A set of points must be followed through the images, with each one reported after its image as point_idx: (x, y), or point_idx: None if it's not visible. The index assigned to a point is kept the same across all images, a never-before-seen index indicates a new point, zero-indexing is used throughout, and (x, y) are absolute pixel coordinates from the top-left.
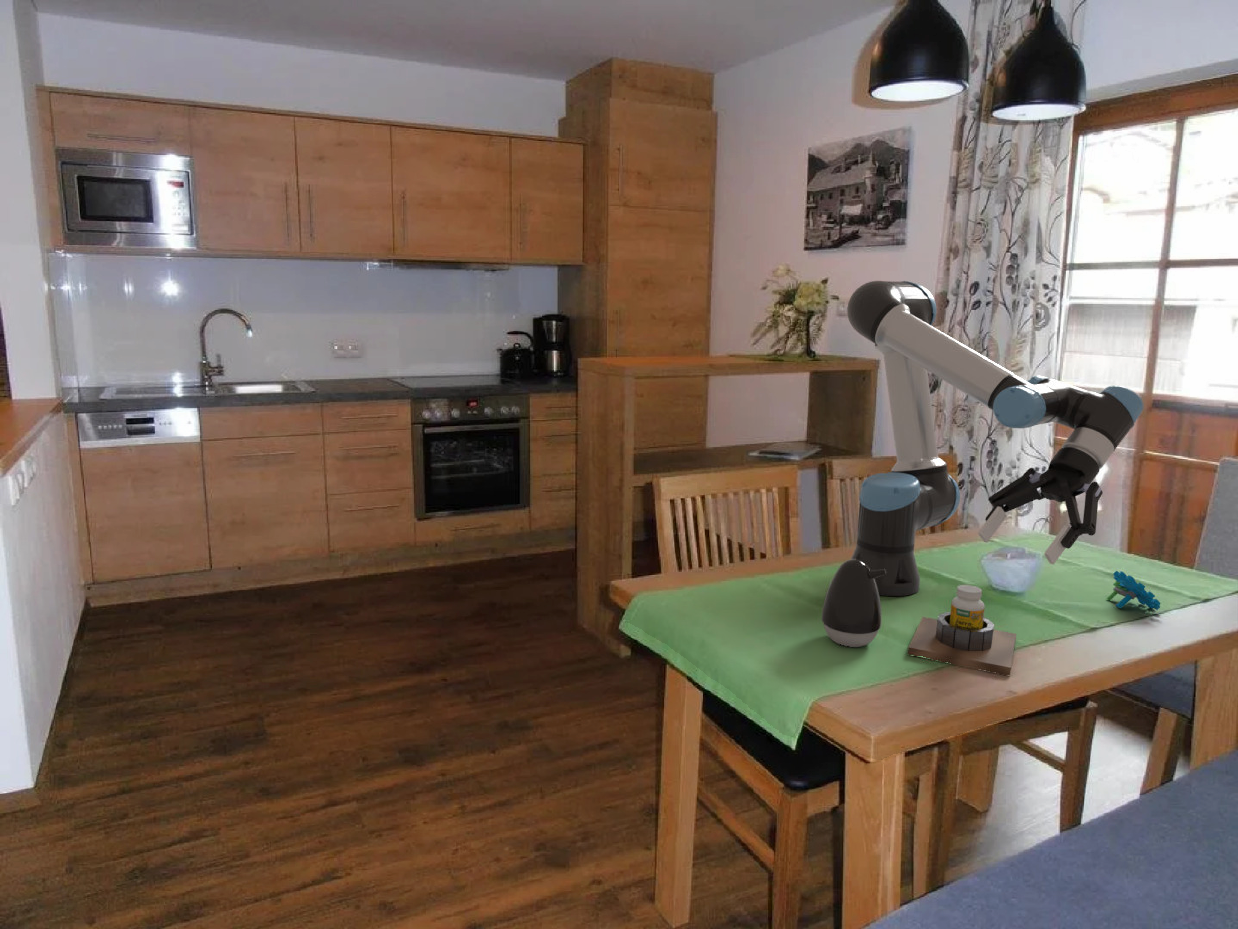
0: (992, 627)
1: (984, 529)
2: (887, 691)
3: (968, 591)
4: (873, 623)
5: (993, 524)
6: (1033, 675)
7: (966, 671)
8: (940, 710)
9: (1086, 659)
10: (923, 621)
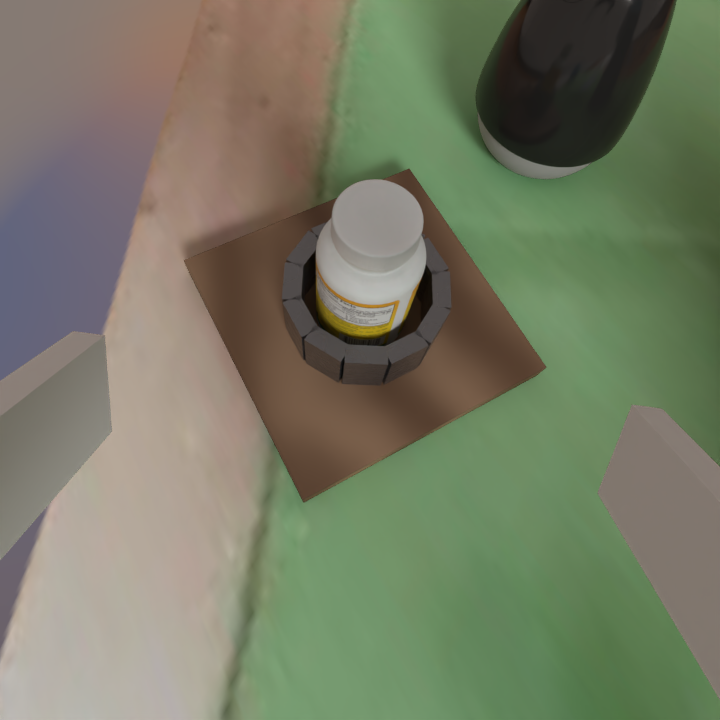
0: (290, 310)
1: (652, 427)
2: (311, 35)
3: (358, 185)
4: (482, 79)
5: (683, 532)
6: (152, 327)
7: (272, 217)
8: (202, 45)
9: (89, 575)
10: (516, 336)
